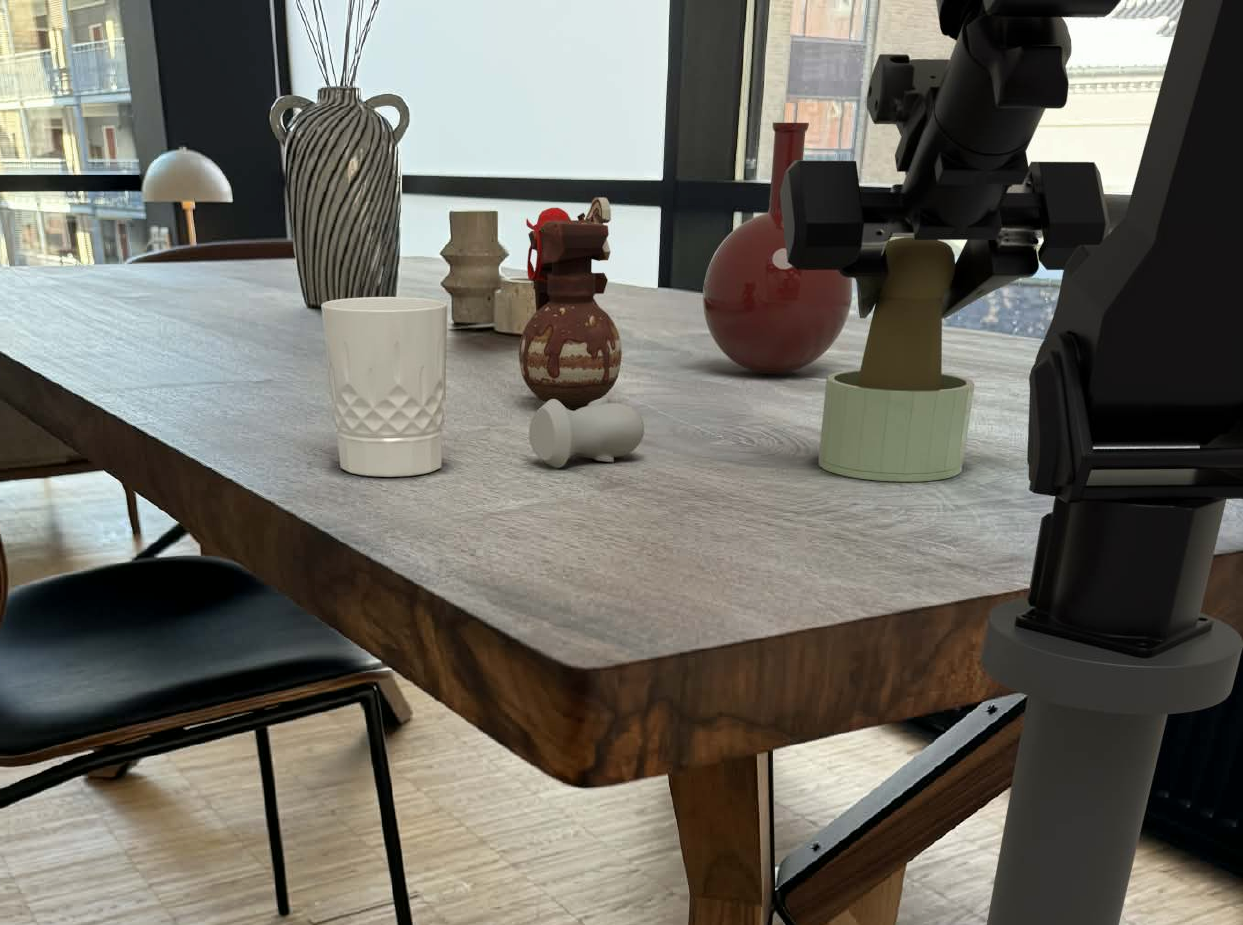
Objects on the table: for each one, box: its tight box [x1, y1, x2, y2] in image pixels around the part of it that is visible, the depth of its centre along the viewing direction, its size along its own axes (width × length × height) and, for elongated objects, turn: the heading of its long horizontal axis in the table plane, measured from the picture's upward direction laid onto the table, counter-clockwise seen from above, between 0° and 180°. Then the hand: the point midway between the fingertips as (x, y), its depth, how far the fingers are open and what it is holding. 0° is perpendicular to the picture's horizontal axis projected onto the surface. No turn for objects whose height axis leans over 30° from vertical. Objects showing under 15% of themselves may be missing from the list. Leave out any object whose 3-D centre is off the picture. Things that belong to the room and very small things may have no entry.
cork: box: [857, 237, 956, 391], centre depth 93 cm, size 6×6×11 cm
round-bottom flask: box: [702, 122, 854, 375], centre depth 127 cm, size 13×13×20 cm
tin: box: [818, 369, 976, 483], centre depth 96 cm, size 9×9×6 cm
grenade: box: [518, 197, 623, 409], centre depth 113 cm, size 10×8×15 cm
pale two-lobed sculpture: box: [528, 397, 645, 469], centre depth 97 cm, size 4×8×5 cm
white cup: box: [320, 296, 448, 478], centre depth 93 cm, size 8×8×10 cm
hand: (901, 312), depth 93 cm, fingers closed on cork, 5 cm apart
